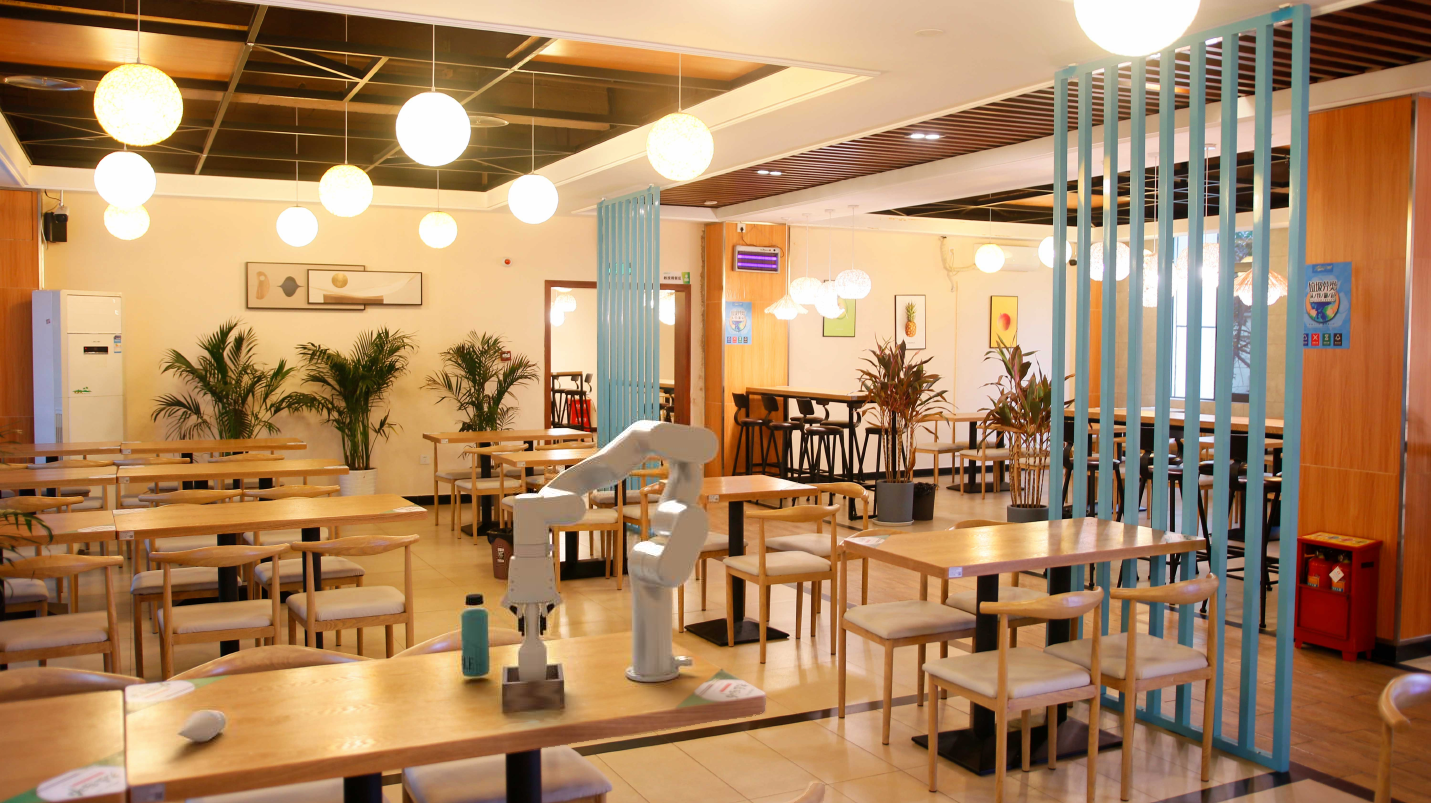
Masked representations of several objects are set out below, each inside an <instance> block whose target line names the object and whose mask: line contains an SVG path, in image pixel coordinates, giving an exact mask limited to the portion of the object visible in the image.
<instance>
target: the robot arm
mask: <svg viewBox="0 0 1431 803" xmlns="http://www.w3.org/2000/svg"><path fill="white" fill-rule="evenodd" d="M719 444H720V443H719V439H718V437H717V435H716V434H715V432H713V430H711V429H709V428H706V427H701V426H695V425H693V426H692V425H688V424H687V425H686V424H681V423H680V424H679V423H673V422H669V421H661V420H659V421H658V420H648V419H647V420H646V419H645V420H643V419H642V420H638V421H636V422H634V423H633V424H631V425H629V426H628V427H627V428H626V429H624V430H623V431H622V432H621V433H620V434H619V435H618V436H617V437H615V438H614V439H613V440H612V441H611V442H609V443H607V445H605V446H604V447H603V448H601V450H600V451H598V452H597V453H595V454H594V455H592V456H590V457H589V458H586V459H584V460H583V461H581V462H579V463H577V464H575V465H573V466H571V467H569V468H567V469H566V470H564V471H562V472H561V473H559V475H557V476H556V477H554V478H553V479H552V480H550V481H549V482H548V483H547V484H546V485H545V486H544V487H542V488H541V489H540V491H539V492H538V493H536V492H535V493H534V492H533V493H532V492H531V493H530V492H528V493H521V494H518V495H516V496H515V497H514V499H513V502H512V504H513V505H512V506H513V509H512V510H513V511H512V512H513V513H512V514H513V515H512V516H513V518H512V520H513V555H512V556H511V557H509V558H510V559H509V565H508V573H507V574H508V578H507V580H508V581H507V589H506V592H505V594H504V596H503V598H502V599H501V601H500V606H501V607H502V608H505V609H507V610H509V611H510V612H511V613H512V614H513V615H515V616H516V618H517V632H518V633H521V635H520V636H521V637H526V623H525V613H524V605H526V604H532V603H538V604H540V613H539V636H544V631H545V632H546V631H547V616H548V615H549V614H551V612H552V611H553V610H554V609H555V608H556V607H558V606H560V605H561V604H563V603H564V599H563V598H562V596H561V594H560V592H559V591H558V590H557V588H556V575H555V574H556V573H555V564H554V559H553V554H550V553H551V552H553V551H556V544H553V543H550V542H549V539H550V537H549V536H550V534H549V526H562V527H563V526H564V527H568V526H569V527H570V526H574V525H576V524H578V523H580V522H581V521H582V520H583V519H584V517H585V515H586V513H587V505H586V502H585V500H584V499H583V497H582V496H584V495H587V494H589V493H591V492H593V491H597V490H601V489H606V488H609V487H612V486H615V485H618V484H620V483H621V482H623V481H624V480H625V479H626V478H627V477H628V476H629V475H630V474H631V473H633V472H634V471H635V470H636V469H638V468H639V467H640V466H641V465H642V464H643V463H644V462H646V461H647V460H648V459H649V458H656V459H664V460H666V461H667V465H668V478H667V481H666V484H665V487H664V489H663V491H662V493H661V496H660V498H659V500H658V502H657V504H656V505H655V506H656V507H655V509H654V510H653V512H652V516H651V519H650V528H651V531H652V532H653V533H654V534H655V535H656V536H658V537H659V538H661V539H664V540H666V542H665V543H664V542H660V541H659V542H658V541H656V540H655V541H654V540H643V541H641V542H638V543H636V544H635V545H634V546H633V547H632V548H631V550H630V552H629V554H628V556H627V572H628V577H629V582H630V590H631V593H630V594H631V648H632V649H631V650H632V651H631V652H632V653H631V654H632V655H631V659H632V661H631V662H632V665H630V666H629V667H627V668H626V669H625V676H626V677H627V678H629V680H632V681H635V682H644V683H645V682H646V683H654V682H655V683H656V682H658V683H659V682H664V681H669V680H672V679H675V678H677V677H678V676H679V675H680V667H681V666H682V667H692V666H693V658H692V657H686V656H685V655H684V656H676V655H675V654H674V653H673V597H672V590H671V589H676V588H679V587H681V586H682V585H684V584H685V583H686V582H687V581H688V580H689V578H690V576H691V574H692V573H693V571H694V568H695V567H696V564H697V561H698V559H699V557H700V555H701V552H702V550H703V548H704V546H705V543H706V542H707V538H708V536H709V531H710V518H709V515H708V513H707V511H706V510H705V508H703V507H702V506H701V505H699V504H697V503H698V500H699V497H700V495H701V492H702V488H703V484H704V476H703V471H702V467H701V465H702V464H707V463H709V462H711V461H712V460H714V459H715V458H716V456H717V455H718V452H719V449H720V448H719V446H720V445H719ZM516 605H517V606H516Z"/></svg>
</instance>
